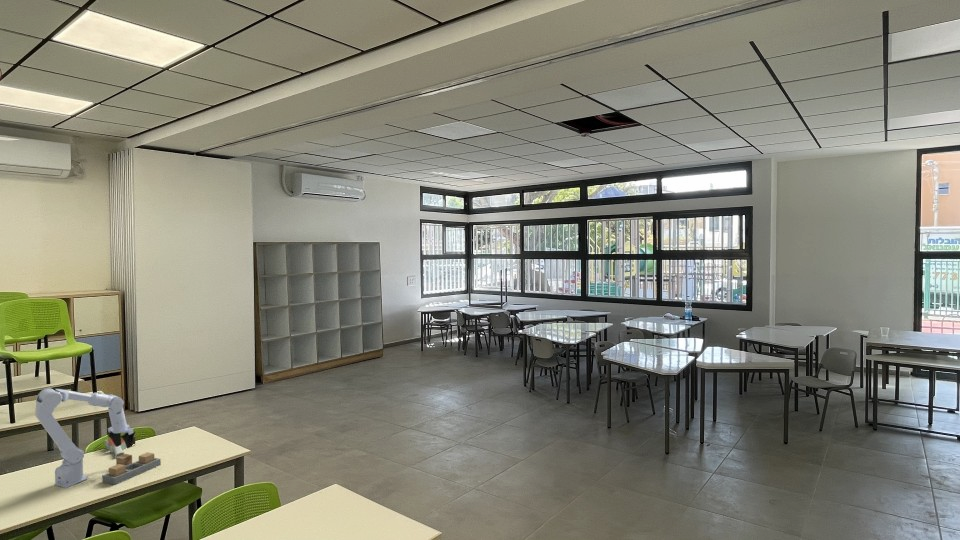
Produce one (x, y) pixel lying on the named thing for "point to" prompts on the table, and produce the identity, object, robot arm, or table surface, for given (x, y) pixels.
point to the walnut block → (124, 459)
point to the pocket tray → (131, 469)
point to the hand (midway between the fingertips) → (124, 446)
